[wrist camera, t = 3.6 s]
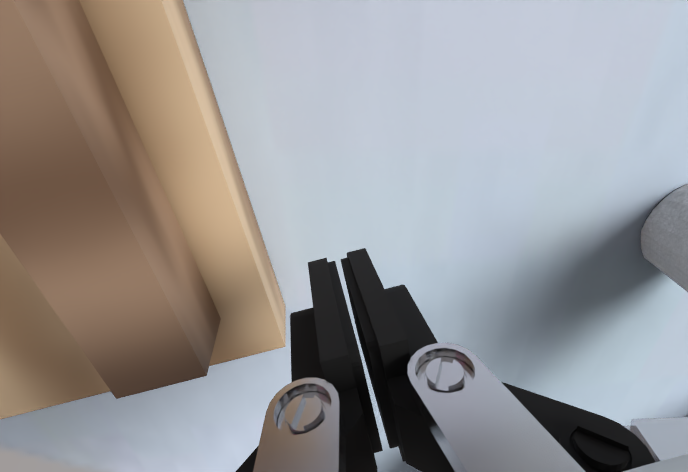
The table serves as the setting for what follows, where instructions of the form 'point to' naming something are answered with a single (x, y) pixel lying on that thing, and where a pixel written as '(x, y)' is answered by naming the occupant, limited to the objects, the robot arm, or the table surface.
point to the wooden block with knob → (185, 200)
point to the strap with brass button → (94, 206)
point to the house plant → (668, 236)
